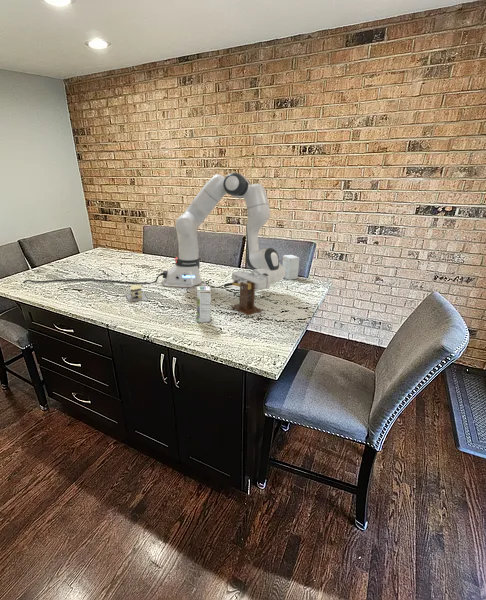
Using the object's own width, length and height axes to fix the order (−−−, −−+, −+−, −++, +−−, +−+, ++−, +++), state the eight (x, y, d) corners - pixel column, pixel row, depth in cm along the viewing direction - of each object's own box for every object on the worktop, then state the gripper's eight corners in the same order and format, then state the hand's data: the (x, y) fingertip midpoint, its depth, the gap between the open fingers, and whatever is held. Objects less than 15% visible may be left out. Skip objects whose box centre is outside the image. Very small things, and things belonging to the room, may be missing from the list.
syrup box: (196, 316, 149) (196, 285, 143) (209, 316, 149) (209, 285, 144) (197, 322, 143) (196, 290, 138) (211, 321, 144) (211, 290, 139)
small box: (297, 278, 200) (299, 257, 195) (288, 280, 198) (290, 258, 193) (290, 275, 207) (292, 254, 202) (281, 276, 205) (282, 255, 200)
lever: (224, 287, 158) (224, 282, 157) (239, 284, 163) (239, 279, 162) (241, 291, 147) (241, 285, 147) (257, 287, 152) (257, 282, 151)
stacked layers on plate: (126, 295, 174) (125, 285, 172) (143, 293, 178) (142, 283, 176) (129, 301, 166) (128, 291, 164) (147, 299, 169) (146, 289, 167)
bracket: (230, 308, 157) (231, 280, 152) (245, 304, 162) (246, 277, 157) (247, 317, 148) (248, 288, 143) (262, 313, 152) (264, 284, 147)
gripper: (244, 267, 174) (223, 271, 167) (272, 276, 158) (249, 282, 151) (244, 278, 177) (223, 283, 170) (271, 289, 161) (249, 295, 154)
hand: (235, 282), depth 160 cm, fingers closed on lever
